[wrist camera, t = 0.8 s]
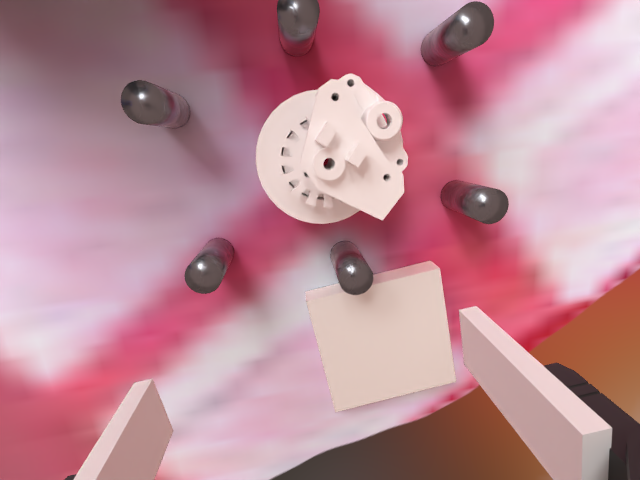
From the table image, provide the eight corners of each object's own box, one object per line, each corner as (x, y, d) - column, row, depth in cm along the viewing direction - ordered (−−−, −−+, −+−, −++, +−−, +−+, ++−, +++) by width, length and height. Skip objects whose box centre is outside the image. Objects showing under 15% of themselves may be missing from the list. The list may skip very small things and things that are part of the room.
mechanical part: (237, 143, 34) (210, 144, 23) (340, 65, 33) (367, 24, 21) (306, 235, 37) (314, 277, 26) (403, 166, 36) (456, 178, 24)
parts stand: (305, 291, 38) (306, 301, 36) (430, 260, 39) (440, 268, 36) (332, 396, 42) (335, 412, 40) (446, 368, 43) (456, 381, 40)
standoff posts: (137, 55, 31) (95, 31, 25) (445, -17, 32) (487, -59, 25) (219, 298, 38) (204, 333, 31) (473, 236, 38) (512, 256, 32)
